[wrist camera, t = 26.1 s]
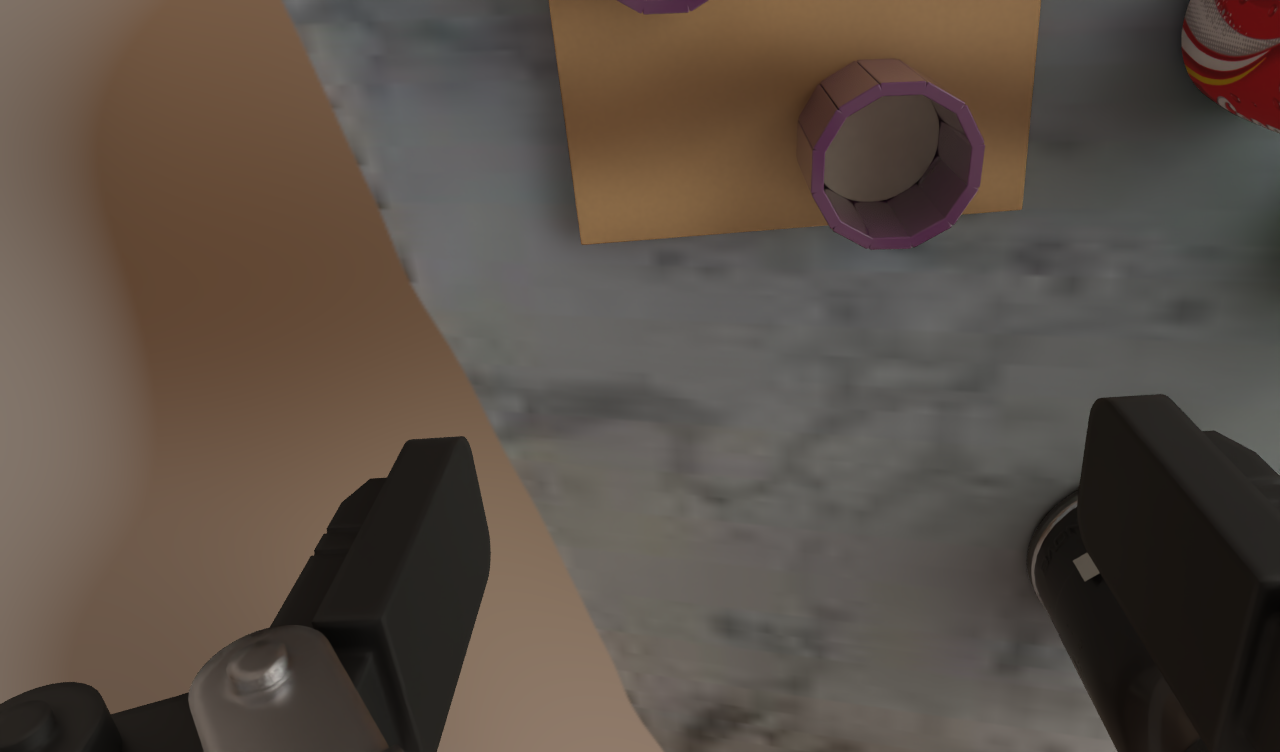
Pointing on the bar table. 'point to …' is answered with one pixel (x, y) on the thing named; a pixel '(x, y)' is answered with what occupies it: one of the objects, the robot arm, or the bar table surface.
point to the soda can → (1236, 56)
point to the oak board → (763, 102)
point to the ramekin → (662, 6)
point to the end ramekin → (888, 154)
